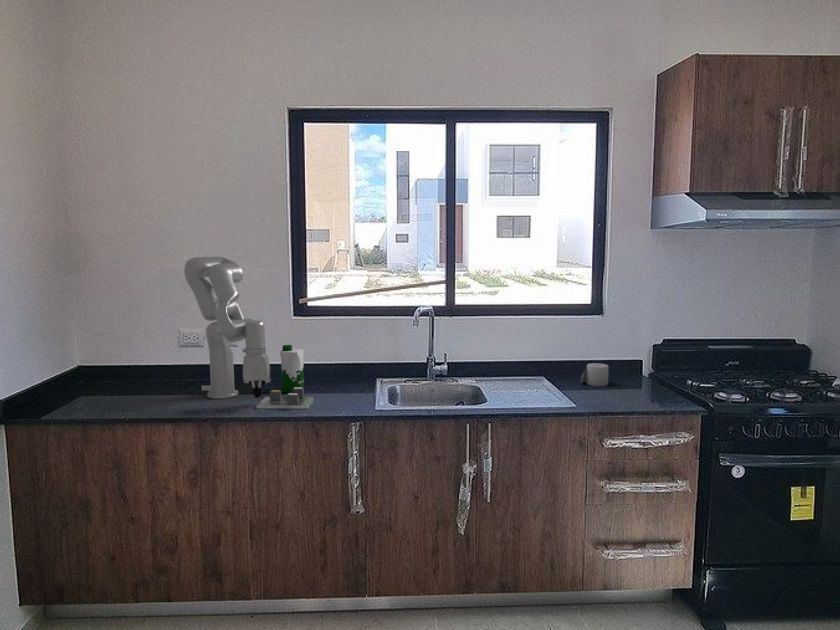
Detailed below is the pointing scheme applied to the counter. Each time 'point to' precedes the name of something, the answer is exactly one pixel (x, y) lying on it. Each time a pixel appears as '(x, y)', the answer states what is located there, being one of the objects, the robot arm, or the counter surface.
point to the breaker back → (299, 391)
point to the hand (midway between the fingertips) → (258, 396)
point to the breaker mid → (275, 395)
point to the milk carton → (291, 368)
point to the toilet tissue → (595, 374)
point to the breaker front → (292, 399)
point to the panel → (285, 403)
